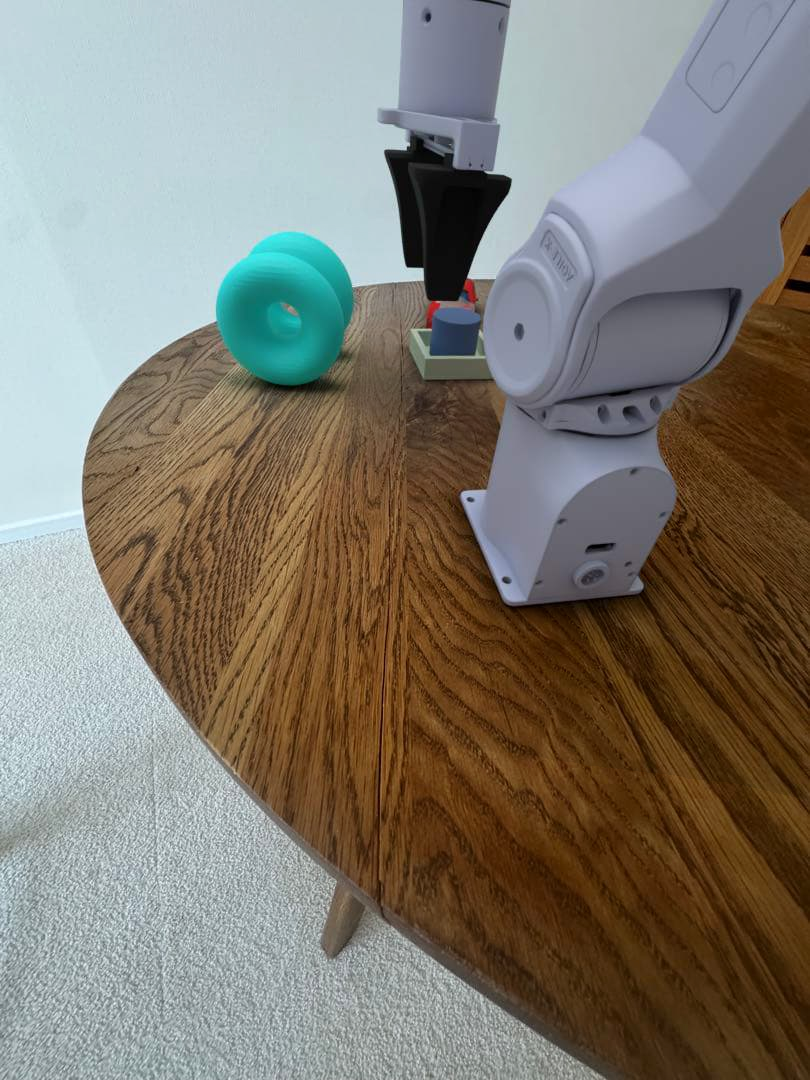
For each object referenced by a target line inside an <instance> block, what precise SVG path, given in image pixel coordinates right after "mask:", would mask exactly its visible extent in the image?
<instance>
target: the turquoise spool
mask: <svg viewBox="0 0 810 1080" xmlns="http://www.w3.org/2000/svg"><path fill="white" fill-rule="evenodd" d="M354 296H355V294H354V287H353V284H352V280H351V277H350V274H349V272H348V270H347V268H346V266H345V264H344V263H343V262H342V259H341V258H340V257H339V256H338V254H337V253H336V252H335V251H334V250H333V249H332V248H331V247H329V245H327V244H326V243H325V242H323V241H322V240H320V239H319V238H317V237H314V236H312V235H310V234H307V233H304V232H299V231H281V232H275V233H273V234H270V235H268V236H266V237H265V238H263V239H261V240H260V241H259V242H258V243H256V245H255V246H254V247H252V249H251V250H250V251H249V253H248V255H247V257H244V258H242V259H240V260H239V261H238V262H236V263H235V264H234V265H233V266H232V267H231V268H230V269H229V270H228V271H227V273H226V274H225V276H224V277H223V278H222V281H221V283H220V285H219V288H218V290H217V295H216V300H215V318H216V325H217V328H218V332H219V335H220V336H221V339H222V341H223V343H224V345H225V347H226V348H227V350H228V351H229V353H230V354H231V356H232V357H233V358H234V359H235V360H236V362H238V363H239V364H240V365H241V367H243V368H244V369H245V370H246V371H247V372H249V373H251V374H252V375H253V376H255V377H257V378H259V379H261V380H263V381H266V382H268V383H272V384H275V385H279V386H280V385H281V386H299V385H305V384H308V383H311V382H313V381H315V380H317V379H319V378H320V377H322V376H323V375H324V374H326V373H327V372H328V371H329V370H330V369H331V368H332V367H333V365H334V364H335V362H336V361H337V359H338V357H339V355H340V353H341V351H342V347H343V344H344V338H345V333H346V331H347V329H348V327H349V325H350V324H351V323H350V322H351V320H352V317H353V313H354V307H355V297H354ZM283 303H284V304H286V305H288V306H290V307H291V308H293V310H294V311H295V312H296V313H297V314H295V313H292V312H291V311H289V310H288V309H287V308H286V307H285V306H284V304H283Z"/></svg>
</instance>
